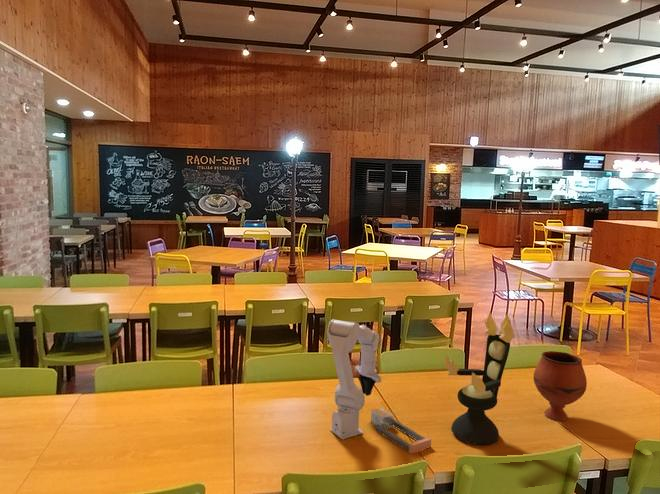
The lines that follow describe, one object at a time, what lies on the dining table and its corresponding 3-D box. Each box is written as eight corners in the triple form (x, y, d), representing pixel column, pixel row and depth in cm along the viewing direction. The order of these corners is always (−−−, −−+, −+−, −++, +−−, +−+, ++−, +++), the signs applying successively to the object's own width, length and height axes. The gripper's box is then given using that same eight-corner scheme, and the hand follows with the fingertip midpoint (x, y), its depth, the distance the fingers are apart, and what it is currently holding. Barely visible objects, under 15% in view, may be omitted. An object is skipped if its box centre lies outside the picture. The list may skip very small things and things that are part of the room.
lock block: (382, 430, 189) (383, 417, 188) (370, 423, 194) (371, 410, 194) (393, 427, 191) (393, 414, 191) (381, 420, 197) (381, 407, 196)
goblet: (589, 430, 194) (595, 367, 191) (535, 424, 197) (540, 362, 194) (575, 409, 212) (581, 351, 209) (526, 403, 216) (531, 346, 213)
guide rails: (411, 454, 173) (412, 445, 172) (376, 429, 189) (376, 422, 188) (430, 447, 177) (431, 439, 177) (394, 424, 194) (394, 416, 193)
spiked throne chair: (438, 426, 193) (445, 309, 188) (487, 418, 201) (495, 306, 196) (468, 451, 176) (477, 323, 170) (520, 441, 184) (530, 319, 178)
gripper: (388, 364, 195) (386, 398, 196) (365, 353, 207) (363, 385, 208) (373, 367, 191) (371, 402, 192) (350, 356, 203) (349, 389, 204)
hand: (366, 394), depth 200 cm, fingers closed
